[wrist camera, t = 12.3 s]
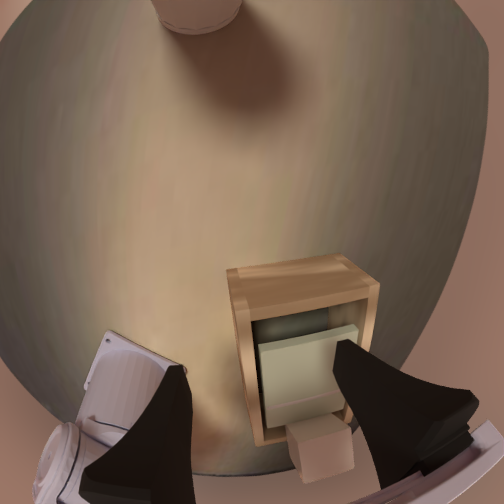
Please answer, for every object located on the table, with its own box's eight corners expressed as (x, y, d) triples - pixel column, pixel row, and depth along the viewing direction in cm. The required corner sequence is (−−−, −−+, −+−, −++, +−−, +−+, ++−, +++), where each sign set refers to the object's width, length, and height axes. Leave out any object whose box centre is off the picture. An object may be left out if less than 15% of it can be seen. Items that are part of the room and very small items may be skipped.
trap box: (327, 380, 27) (350, 422, 21) (245, 398, 26) (255, 446, 20) (337, 251, 22) (379, 283, 16) (225, 267, 21) (235, 311, 15)
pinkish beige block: (331, 445, 20) (354, 468, 15) (289, 456, 19) (304, 483, 14) (327, 410, 21) (350, 427, 16) (284, 420, 20) (297, 442, 15)
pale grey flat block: (328, 381, 24) (343, 409, 20) (259, 397, 23) (267, 428, 19) (336, 303, 21) (359, 330, 17) (250, 319, 20) (260, 352, 16)
